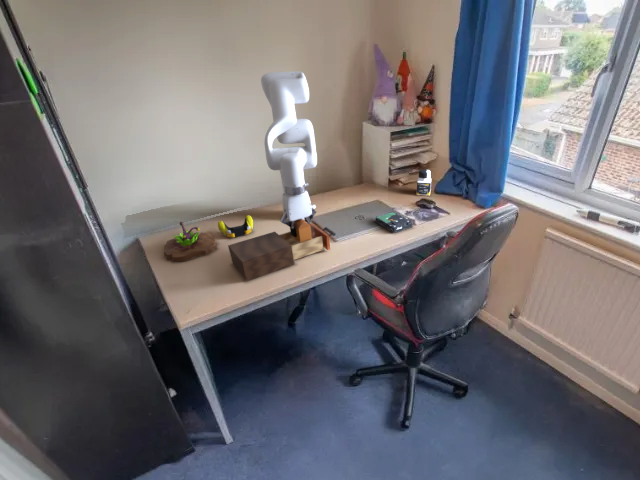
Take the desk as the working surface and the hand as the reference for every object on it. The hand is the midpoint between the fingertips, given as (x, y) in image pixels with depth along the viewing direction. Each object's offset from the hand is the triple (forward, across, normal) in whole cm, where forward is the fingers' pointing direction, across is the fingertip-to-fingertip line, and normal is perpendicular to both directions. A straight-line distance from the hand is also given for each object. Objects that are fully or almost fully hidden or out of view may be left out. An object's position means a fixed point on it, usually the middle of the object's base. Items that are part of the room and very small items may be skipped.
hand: (300, 233), depth 149 cm
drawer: (+7, -2, +1) cm, 7 cm away
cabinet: (+8, +17, +1) cm, 19 cm away
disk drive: (+8, -44, +4) cm, 45 cm away
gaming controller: (+9, +15, -32) cm, 37 cm away
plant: (+8, +36, -30) cm, 48 cm away
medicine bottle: (+8, -80, -16) cm, 82 cm away
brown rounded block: (+2, 0, 0) cm, 2 cm away
